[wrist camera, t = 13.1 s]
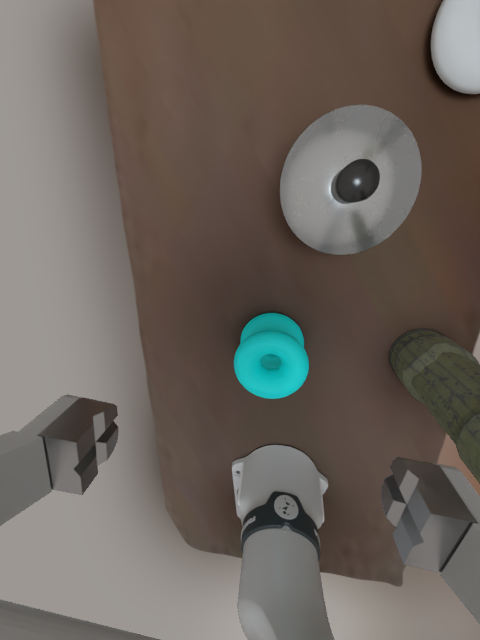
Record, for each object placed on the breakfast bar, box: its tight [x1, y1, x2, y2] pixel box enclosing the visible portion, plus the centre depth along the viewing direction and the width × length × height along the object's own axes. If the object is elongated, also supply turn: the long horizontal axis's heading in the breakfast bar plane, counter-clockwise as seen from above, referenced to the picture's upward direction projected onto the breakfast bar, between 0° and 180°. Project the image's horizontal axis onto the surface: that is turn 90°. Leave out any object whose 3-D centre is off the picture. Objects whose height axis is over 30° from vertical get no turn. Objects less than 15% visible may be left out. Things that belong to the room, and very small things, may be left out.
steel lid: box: [280, 105, 421, 255], centre depth 25 cm, size 13×13×5 cm
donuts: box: [234, 313, 309, 399], centre depth 40 cm, size 10×10×10 cm
